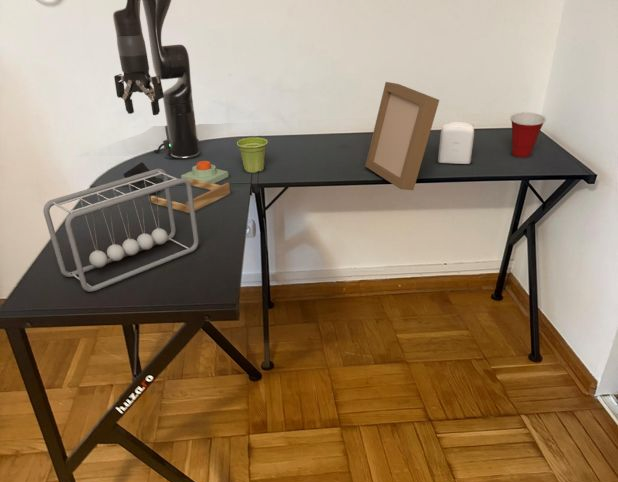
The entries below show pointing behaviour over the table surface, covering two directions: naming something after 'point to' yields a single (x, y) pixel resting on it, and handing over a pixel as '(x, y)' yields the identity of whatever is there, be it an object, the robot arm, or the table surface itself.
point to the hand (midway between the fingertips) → (143, 113)
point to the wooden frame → (201, 200)
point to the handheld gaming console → (140, 184)
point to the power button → (203, 165)
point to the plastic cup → (525, 132)
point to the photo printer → (456, 143)
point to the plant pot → (253, 153)
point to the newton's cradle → (129, 245)
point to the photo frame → (401, 134)
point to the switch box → (206, 174)
